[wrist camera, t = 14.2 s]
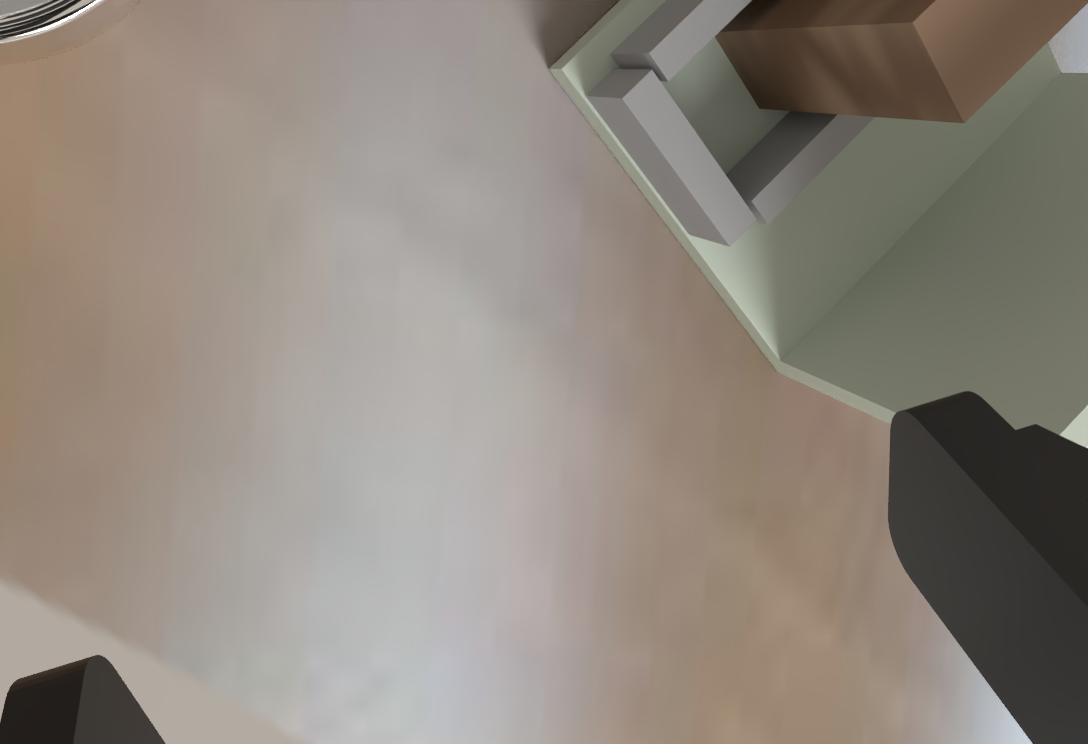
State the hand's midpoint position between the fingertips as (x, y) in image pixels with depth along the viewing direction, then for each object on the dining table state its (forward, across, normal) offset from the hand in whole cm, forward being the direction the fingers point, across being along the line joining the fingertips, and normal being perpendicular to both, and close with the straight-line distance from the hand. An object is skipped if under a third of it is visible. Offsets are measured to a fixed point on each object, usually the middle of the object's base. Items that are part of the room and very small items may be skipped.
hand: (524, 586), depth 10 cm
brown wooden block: (+24, -14, +4) cm, 28 cm away
